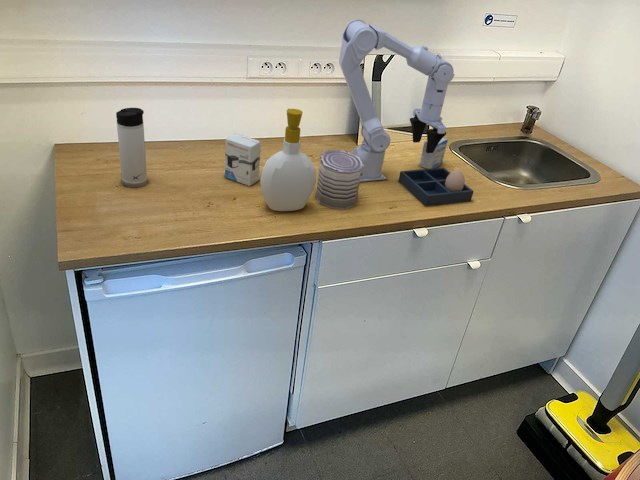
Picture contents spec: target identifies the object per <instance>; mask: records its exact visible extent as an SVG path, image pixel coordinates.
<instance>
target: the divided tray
mask: <svg viewBox="0 0 640 480" xmlns="http://www.w3.org/2000/svg"><path fill="white" fill-rule="evenodd" d="M450 173H451V171H449V170H448V169H446V168H445V167H436V168H433V169H426V168H422V169H411V170H410V169H409V170H400V171H399V176H398V182H399V183H400V184H401V186H403V187H404V188H405V189H406V190H407V191H408V192H410V194H411V195H413V196H414V198H415V199H417V200H418V201H419V202H420V203H421V204H422V205H423V206H424V207H432V206H443V205H448V204H449V205H450V204H458V203H467V202H471V201H472V198H473V195H474V192H475V191H474V190H473V189H472V188H471V187H470V186H468V185H467V184H466V183H464V187H463V189H462V190H461V191H457V192H450V191H449V190H448V189H447V188H445V181H446V178H447V176H448V175H449V174H450Z"/></svg>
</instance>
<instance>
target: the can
mask: <svg viewBox="0 0 640 480" xmlns="http://www.w3.org/2000/svg"><path fill="white" fill-rule="evenodd" d="M319 159H320V161H319V169H318V177H317V184H316V185H317V186H316V193H315V199H316V200H317V201H318V203H319V204H320V205H322V206H324V207H327V208H329V209H333V210H347V209H350V208H353V207H355V205H356V203H357V201H358V195H359V189H360V184H361V182H360V178H361V172H362V167H363V166H364V164H363V162H362V161H361V159H360V158H359V157H358V156H356V155H354V154H351V152H349V151H346V150H342V149H341V150H339V149H337V150H336V149H327V150H325V151H324V152H323V153H322V154H320V155H319Z"/></svg>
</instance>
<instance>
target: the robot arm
mask: <svg viewBox="0 0 640 480" xmlns="http://www.w3.org/2000/svg"><path fill="white" fill-rule="evenodd" d="M383 48H385V49H387V50H389V51H390V52H393V53H395V54H397V55H398V56H401V57H403V58H404V59H405V60H406V64H407V66H409V67H411V68H412V69H414V70H415V71H418V72H420V73H421V74H423V75H425V76H428V77H427V82H426V86H425V90H424V95H423V99H422V103H421V109H420V108H413V111H412V116H413V117H409V122H410V125H411V132H412V143H420V142H421V140H422V138H423V134H424V131H425V128H426V127H427V125H428V126H430V128H431V129H426V139H427V140H426V141H427V147H426V153H433V152H434V150H435V148H436V146H437V145H438V143H439V142H440V140H441V139H442V138H445V137H446V135H447V131H446V130H447V126H446V125H444V123H443V117H441V114H442V111H443V106H444V102H445V98H446V94H447V91H448V85H449V84H450V82H451V81H452V80H453V79H454V77H455V75H456V74H455V72H454V67H453V65H452V64H451V63H450V62H448V61H447V60H446V59H444V58H443V56H442V55H440V54H438V53H437V54H435V53H433V52H431V51H429V47H428V46H426V45H422V46H421V45H420V44H419V45H418V44H417V45H415V46H410V45H409V44H407V43H406V42H404V41H403V40H400V39H399V38H397V37H396V36H394V35H392V34H391V33H389V32H388V31H386V30H384V29H383V28H380V27H378V26H376V25H374V24H371V23H366V22H365V21H364V20H362V19H360V18H359V19H353V20H351V21H349V22H348V24H347V25H346V26H345V28H344V30H343V32H342V34H341V47H340V51H339V58H338V65H339V67H340V69H341V72H342V75H343V77H344V80H345V83H346V85H347V87H348V90H349V93H350V95H351V98H352V101H353V103H354V104H353V105H354V106H355V108H356V111H357V114H358V117H359V122H360V125H361V128H360V129H361V130H360V134H361V136H362V138H363V140H362V142H361V144H360V145H359V146H358V147H354V148H352V149H351V151H350V153H351V154H354V155H356V156H358V157H359V158H360V159H361V161H362V162H363V164H364V166H363V167H362V172H361V178H360V183H362V182H372V181H373V182H374V181H383V180H387V177H386V176H385V175H384V174H383V173H382V171H383V165H384V161H385V155H386V150H388V148H389V147H390V145H391V136H390V134H389V133H388V132H386V131H385V129H384V127H383V125H382V123H381V121H380V119H379V117H378V114H377V111H376V108H375V105H374V102H373V100H372V96H371V94H370V91H369V89H368V86H367V83H366V81H365V80H366V79H365V77H364V74H363V72H362V69H361V64H362V63H363V60H364V59H365V58H366V57H367V56H368V55H369V54H370V53H371V52H372V51H373V50H377V51H378V50H380V49H383Z"/></svg>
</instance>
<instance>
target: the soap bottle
mask: <svg viewBox="0 0 640 480" xmlns="http://www.w3.org/2000/svg"><path fill="white" fill-rule="evenodd" d="M302 116H303V111H302V110H301V109H298V108H287V109H286V117H287V118H286V119H287V126H285V130H284V131H285V133H284V138H283V141H282V142H283V143H282V150H280V151H278V152H275V153H274V154H272V155H271V156H270V157H269V158H268V159H267V161H266V162H265V164H264V166H263V167H262V170H261V176H260V179H259V181H260V192H261V195H262V197H263V200H264V202H265V203H266V205H267V207H268V208H269V209H270V210H272V211H276V212H292V211H293V212H295V211H299V210H302V209H303V208H305V206H306V205H307V203H308V202H309V200H310V199H311V196H312V195H313V193H314V190H315V187H316V183H317V171H316V168H315V165H314V162H313V160H312V159H311V158H309V156H307V154H306V153H304V152H301V150H300V149H301V142H302V141H301V139H300V138H301V128H300V124H301V120H302Z"/></svg>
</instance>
